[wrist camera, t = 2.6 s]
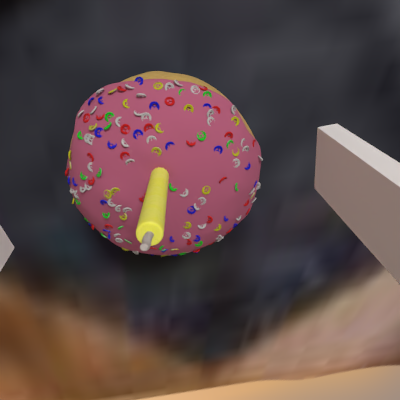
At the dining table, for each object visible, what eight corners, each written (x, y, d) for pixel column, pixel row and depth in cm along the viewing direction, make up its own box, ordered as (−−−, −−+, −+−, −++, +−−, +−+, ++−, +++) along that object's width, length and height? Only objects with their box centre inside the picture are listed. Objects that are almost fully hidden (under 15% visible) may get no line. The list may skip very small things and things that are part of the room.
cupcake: (60, 82, 16) (-137, 216, 5) (223, 37, 15) (348, 85, 5) (122, 217, 20) (80, 429, 10) (249, 184, 20) (342, 367, 10)
